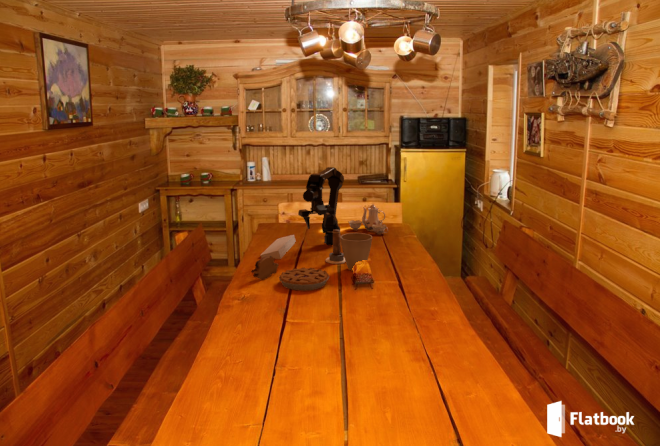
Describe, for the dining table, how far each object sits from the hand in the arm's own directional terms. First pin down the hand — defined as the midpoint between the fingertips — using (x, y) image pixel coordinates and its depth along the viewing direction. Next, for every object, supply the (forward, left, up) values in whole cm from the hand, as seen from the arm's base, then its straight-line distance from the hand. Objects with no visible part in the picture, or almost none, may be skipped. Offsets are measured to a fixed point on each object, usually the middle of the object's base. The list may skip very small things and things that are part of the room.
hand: (317, 228), depth 293 cm
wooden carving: (+39, +29, -13) cm, 50 cm away
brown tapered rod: (-2, +19, -12) cm, 23 cm away
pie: (+26, +44, -13) cm, 53 cm away
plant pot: (-4, +36, -13) cm, 39 cm away
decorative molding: (+16, -13, -14) cm, 25 cm away
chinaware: (-49, -30, -13) cm, 59 cm away
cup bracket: (-2, +19, -13) cm, 23 cm away
